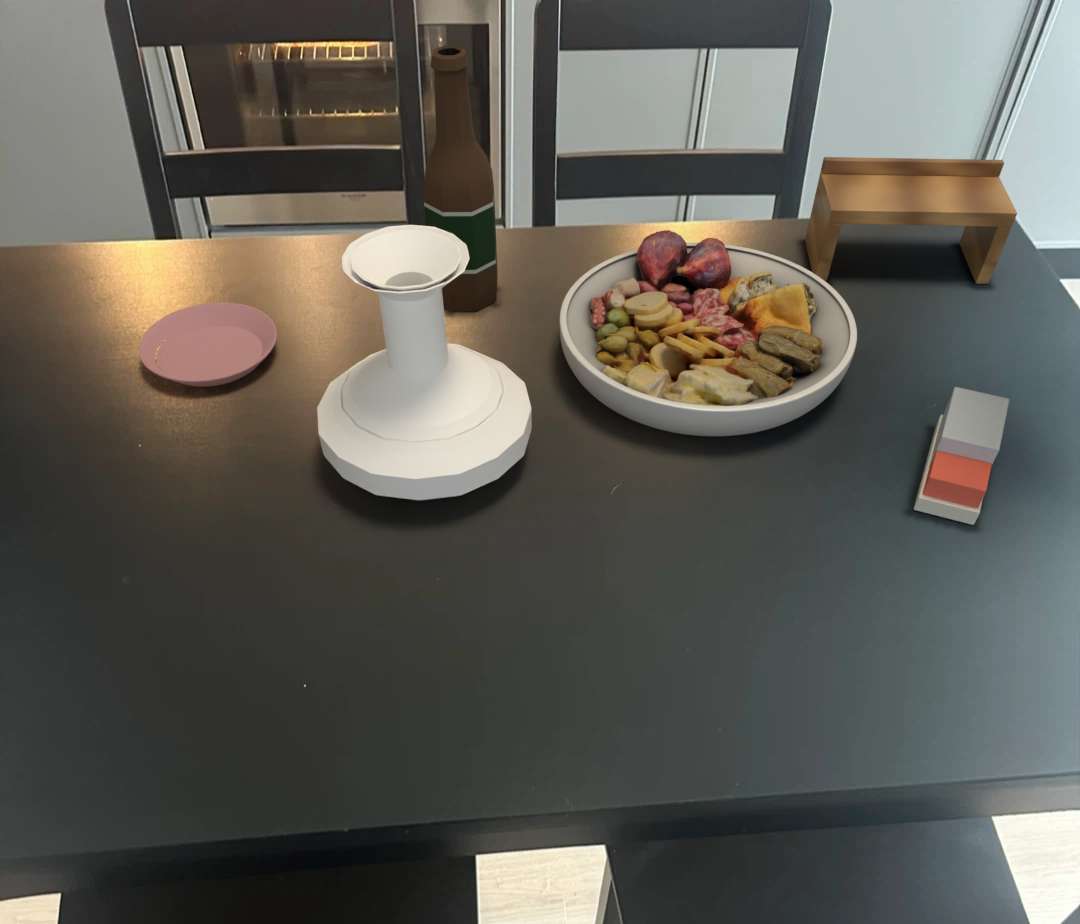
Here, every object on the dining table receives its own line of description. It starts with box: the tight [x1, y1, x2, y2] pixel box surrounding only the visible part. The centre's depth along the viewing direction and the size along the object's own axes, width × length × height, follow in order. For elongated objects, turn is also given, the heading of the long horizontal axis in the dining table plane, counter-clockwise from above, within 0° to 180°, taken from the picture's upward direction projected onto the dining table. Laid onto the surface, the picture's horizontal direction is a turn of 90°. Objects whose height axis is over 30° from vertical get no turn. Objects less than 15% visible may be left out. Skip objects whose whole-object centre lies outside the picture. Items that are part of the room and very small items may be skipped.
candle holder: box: [316, 224, 533, 501], centre depth 82 cm, size 20×20×19 cm
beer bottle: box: [422, 44, 498, 312], centre depth 97 cm, size 8×8×24 cm
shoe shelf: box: [804, 156, 1018, 285], centre depth 106 cm, size 20×9×10 cm, turn 87°
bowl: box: [559, 229, 858, 437], centre depth 96 cm, size 30×30×8 cm
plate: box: [138, 301, 278, 387], centre depth 99 cm, size 14×14×2 cm
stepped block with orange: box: [913, 386, 1010, 526], centre depth 86 cm, size 13×5×5 cm, turn 157°
